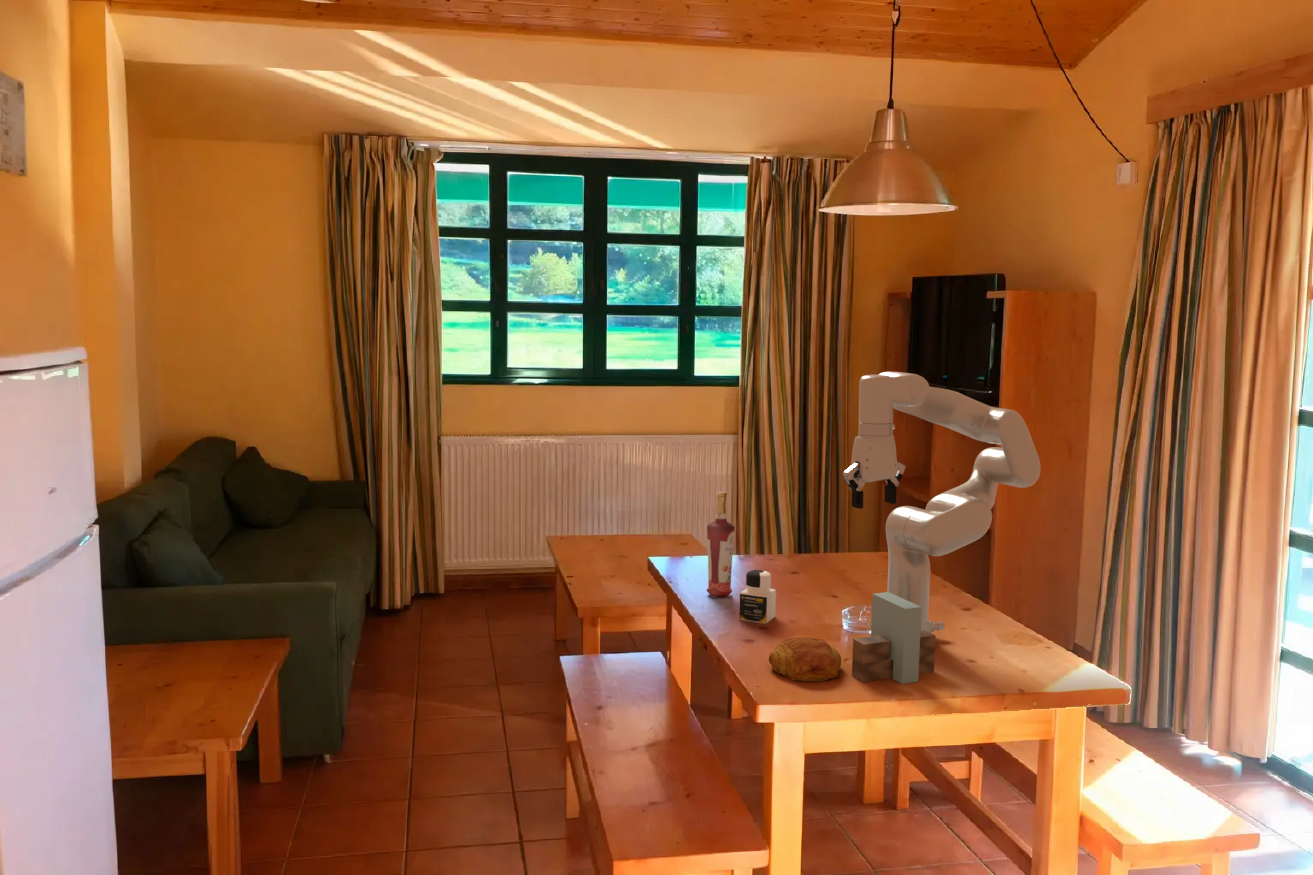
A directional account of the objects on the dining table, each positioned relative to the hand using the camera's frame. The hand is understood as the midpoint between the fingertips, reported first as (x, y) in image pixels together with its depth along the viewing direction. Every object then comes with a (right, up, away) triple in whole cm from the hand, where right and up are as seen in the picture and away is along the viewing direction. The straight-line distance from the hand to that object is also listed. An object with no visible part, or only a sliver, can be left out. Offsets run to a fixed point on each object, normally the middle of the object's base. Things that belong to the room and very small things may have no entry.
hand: (874, 505), depth 238 cm
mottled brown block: (+1, -35, -14) cm, 38 cm away
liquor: (-32, -27, +44) cm, 61 cm away
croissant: (-17, -35, -13) cm, 41 cm away
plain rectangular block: (+1, -35, -14) cm, 37 cm away
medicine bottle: (-24, -30, +24) cm, 45 cm away
